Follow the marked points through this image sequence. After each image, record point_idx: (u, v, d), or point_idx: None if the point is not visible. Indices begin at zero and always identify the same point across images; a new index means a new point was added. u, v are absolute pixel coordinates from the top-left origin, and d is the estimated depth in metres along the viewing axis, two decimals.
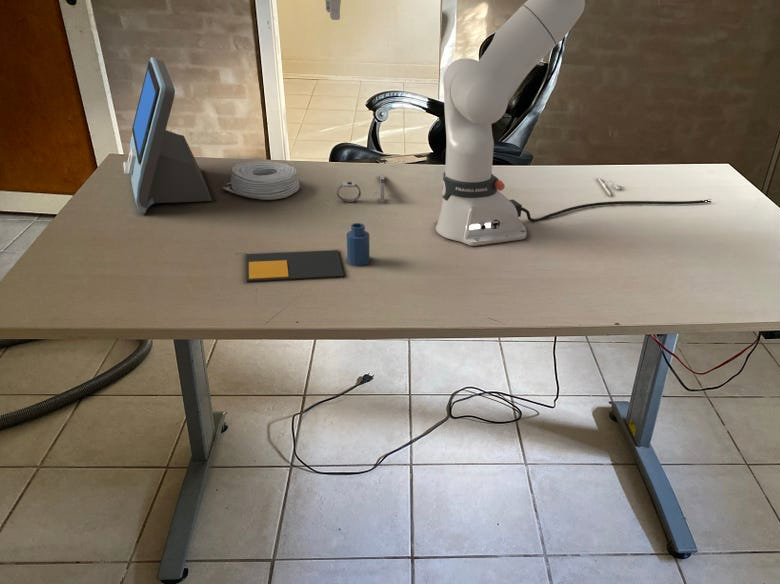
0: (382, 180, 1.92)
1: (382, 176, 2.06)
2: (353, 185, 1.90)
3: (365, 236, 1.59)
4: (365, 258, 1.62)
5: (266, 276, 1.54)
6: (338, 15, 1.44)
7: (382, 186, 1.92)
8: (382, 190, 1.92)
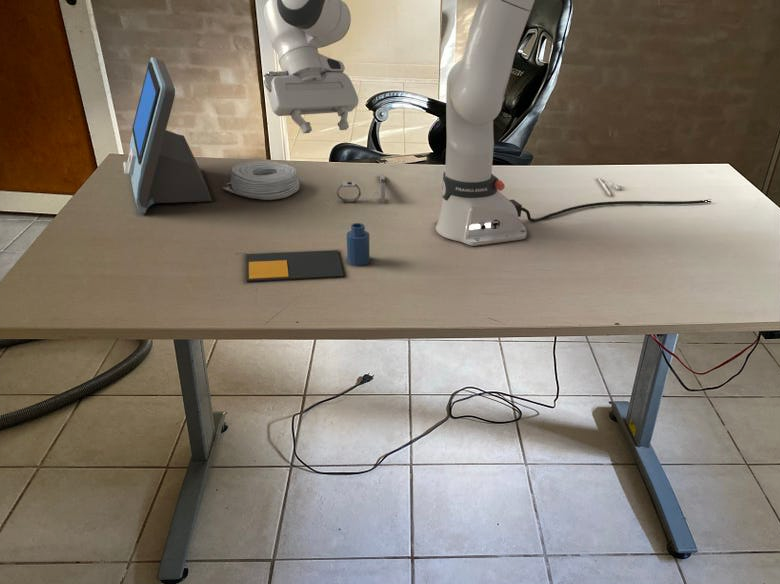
0: (383, 180, 1.92)
1: (382, 176, 2.06)
2: (353, 185, 1.90)
3: (365, 236, 1.59)
4: (365, 258, 1.62)
5: (266, 276, 1.54)
6: (304, 127, 1.54)
7: (383, 186, 1.92)
8: (383, 190, 1.92)
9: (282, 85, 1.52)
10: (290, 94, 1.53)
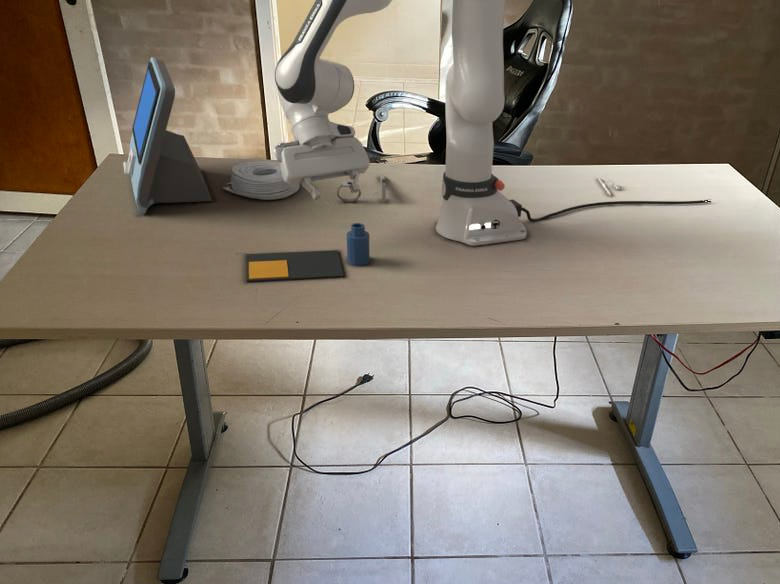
0: (383, 180, 1.92)
1: (382, 176, 2.06)
2: None
3: (365, 236, 1.59)
4: (365, 258, 1.62)
5: (266, 276, 1.54)
6: (314, 193, 1.60)
7: (383, 186, 1.92)
8: (383, 190, 1.92)
9: (292, 155, 1.59)
10: (299, 163, 1.59)
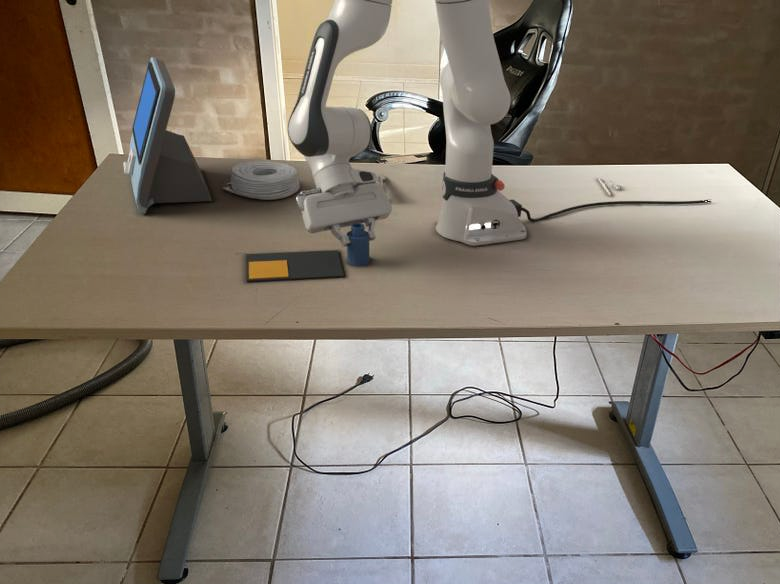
0: (384, 180, 1.92)
1: (382, 176, 2.06)
2: None
3: (365, 236, 1.59)
4: (365, 258, 1.62)
5: (266, 276, 1.54)
6: (343, 241, 1.58)
7: (384, 186, 1.92)
8: (384, 190, 1.92)
9: (314, 204, 1.56)
10: (322, 212, 1.56)
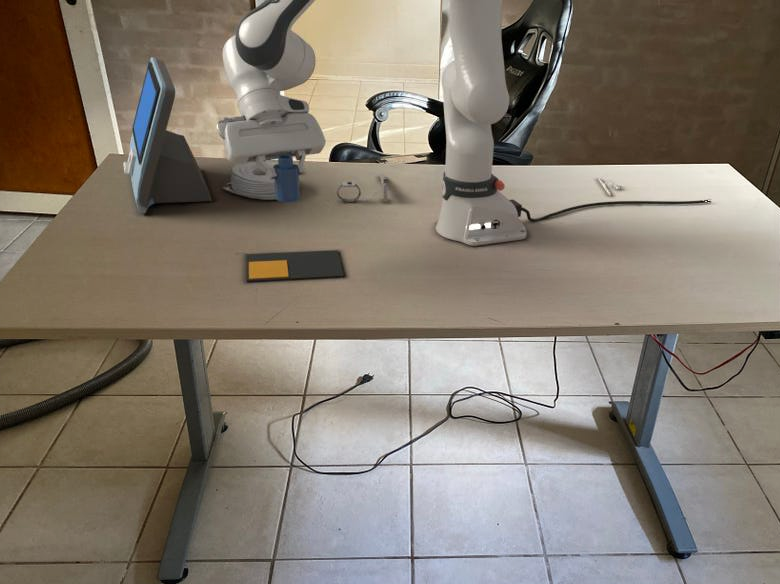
0: (385, 180, 1.92)
1: (383, 176, 2.06)
2: (353, 185, 1.90)
3: (293, 169, 1.46)
4: (294, 194, 1.48)
5: (266, 276, 1.54)
6: (268, 173, 1.45)
7: (385, 186, 1.92)
8: (385, 190, 1.92)
9: (236, 131, 1.42)
10: (245, 140, 1.43)
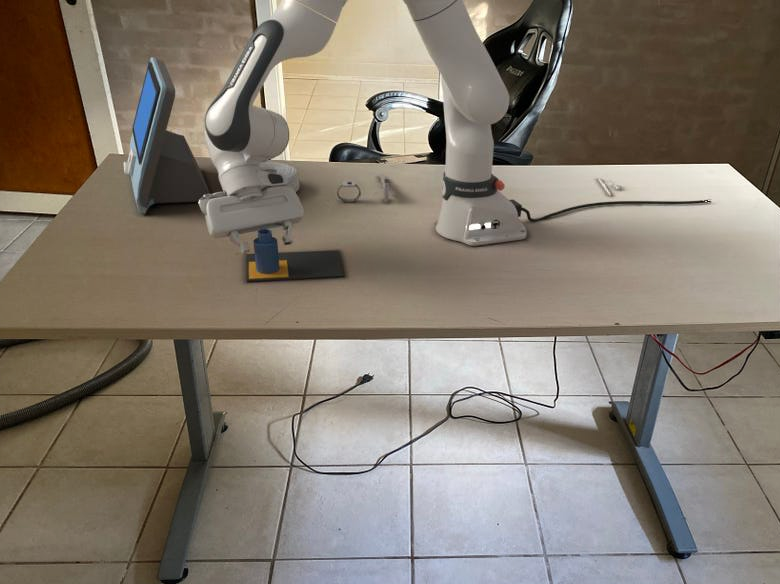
0: (386, 180, 1.92)
1: (383, 176, 2.06)
2: (353, 185, 1.90)
3: (272, 243, 1.52)
4: (274, 266, 1.54)
5: (266, 276, 1.54)
6: (241, 248, 1.50)
7: (386, 186, 1.92)
8: (386, 190, 1.92)
9: (217, 208, 1.49)
10: (226, 216, 1.49)
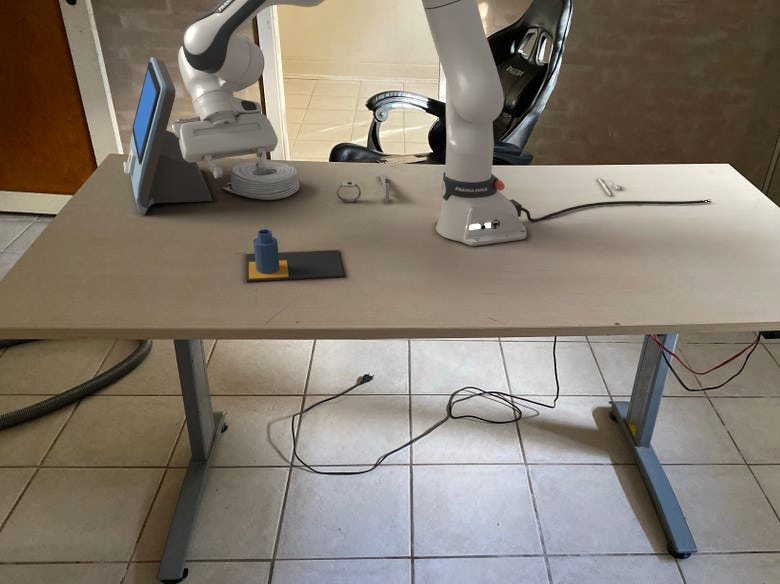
0: (387, 180, 1.92)
1: (383, 176, 2.06)
2: (353, 185, 1.90)
3: (272, 243, 1.52)
4: (274, 266, 1.54)
5: (266, 276, 1.54)
6: (215, 172, 1.52)
7: (387, 186, 1.92)
8: (387, 190, 1.92)
9: (191, 131, 1.51)
10: (199, 140, 1.51)
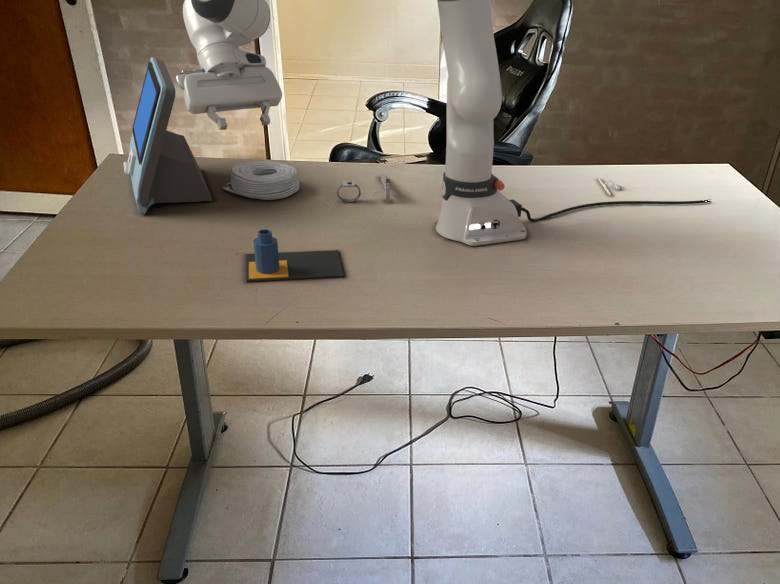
0: (387, 180, 1.92)
1: (383, 176, 2.06)
2: (353, 185, 1.90)
3: (272, 243, 1.52)
4: (274, 266, 1.54)
5: (266, 276, 1.54)
6: (219, 123, 1.52)
7: (387, 186, 1.92)
8: (388, 190, 1.93)
9: (195, 82, 1.50)
10: (203, 91, 1.51)
